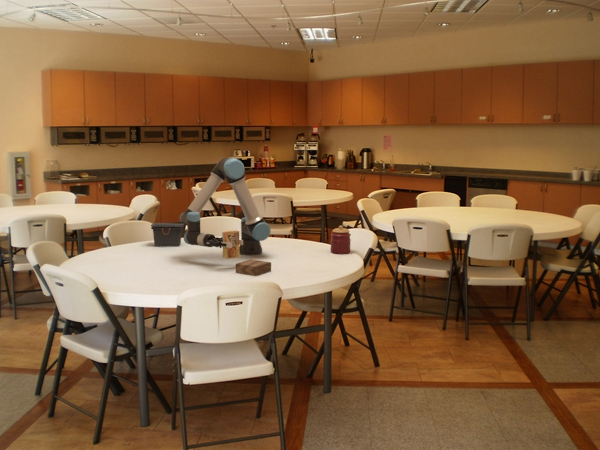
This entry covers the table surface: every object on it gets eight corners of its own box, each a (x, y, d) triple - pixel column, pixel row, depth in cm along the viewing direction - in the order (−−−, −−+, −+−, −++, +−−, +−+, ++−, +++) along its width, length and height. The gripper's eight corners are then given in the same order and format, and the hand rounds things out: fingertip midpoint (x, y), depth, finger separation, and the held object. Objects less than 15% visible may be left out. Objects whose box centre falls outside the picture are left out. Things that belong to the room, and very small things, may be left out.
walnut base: (235, 272, 348) (235, 263, 347) (251, 267, 359) (251, 259, 358) (256, 275, 340) (256, 266, 339) (271, 271, 352) (271, 262, 351)
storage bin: (184, 243, 433) (184, 222, 430) (182, 247, 417) (182, 226, 415) (153, 243, 430) (152, 223, 428) (150, 248, 415) (149, 226, 413)
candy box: (237, 256, 361) (236, 229, 359) (239, 257, 357) (239, 231, 355) (222, 257, 357) (222, 231, 355) (225, 259, 354) (224, 232, 351)
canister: (327, 253, 402) (327, 226, 400) (334, 249, 414) (334, 223, 412) (346, 255, 398) (347, 227, 395) (353, 251, 409) (353, 224, 407)
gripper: (193, 236, 356) (224, 240, 344) (218, 231, 374) (248, 234, 362) (194, 249, 357) (224, 254, 345) (219, 243, 375) (249, 247, 363)
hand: (237, 244), depth 354 cm, fingers closed on candy box, 9 cm apart
